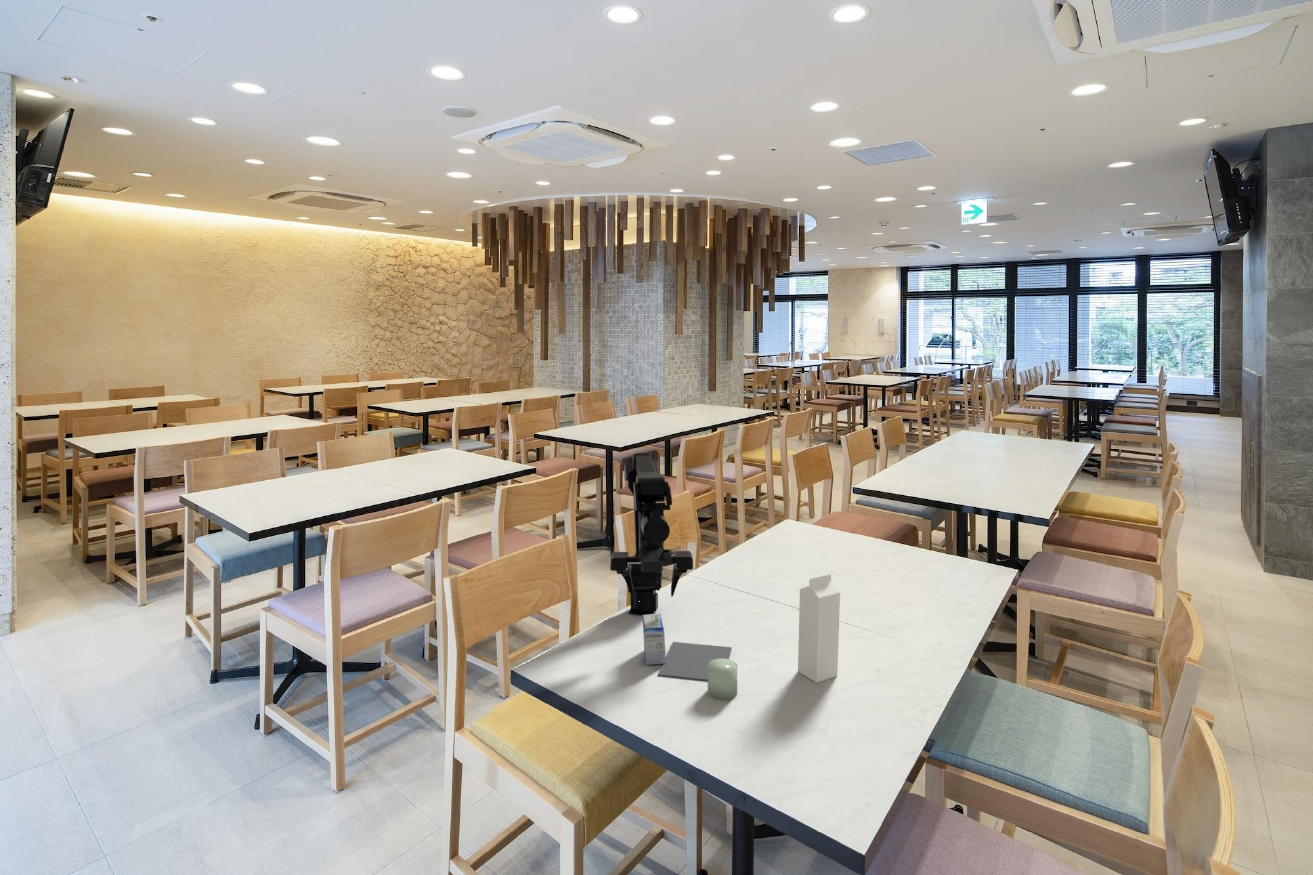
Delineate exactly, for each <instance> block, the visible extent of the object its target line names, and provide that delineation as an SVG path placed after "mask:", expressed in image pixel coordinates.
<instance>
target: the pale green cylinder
mask: <svg viewBox="0 0 1313 875" xmlns="http://www.w3.org/2000/svg"><path fill="white" fill-rule="evenodd" d="M707 694H708V697H710V698H712V699H714V700H716V701H730V700H733V699H735V698H736V697H737V695H738V663H736V662H735V661H734V660H732V659H730V658H729V659H722V658H721V659H714V660H712V661H710V662H709V663H708V681H707Z"/></svg>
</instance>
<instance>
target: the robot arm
mask: <svg viewBox="0 0 1313 875" xmlns="http://www.w3.org/2000/svg"><path fill="white" fill-rule="evenodd" d="M653 455H654V454H653V452H652V453H651V452H645V451H644V452H635V453H632V457H630V458H629V459H628V460H626V461H624V467H623V468H624V469H623V474H624V476H623V478H624V482H626V486H627V489H628V490H629V492H630V494H631V495H632V497H633V499H632V500H633V528H634V554H633V555H632V556H629V551H613V552H612V553H611V557H610V571H612V572H616V574H618V575H621V576H622V578H623V580H624V581H625V584H626V588H627V592H628V593H629V595H630V609H629V611H628V615H635V616H636V615H637V616H643V615H649V614H655V612H656V611H657V610H658V608H659V593H658V591H660V590H661V589H662V583H663V582H662V579H663V571H664V567H668V566H672V574H671V584H670V597H674V595H675V591H676V589H677V585H678V583H679V580H680V578H681V576H682V575H683V574H687V573H688V571H690V570H694V558H693V553H692V552H691V551H690V550H675V551H674V555H672V549H669V548H668V549H665V541H667V539H668V538H669V536H670V531H671V530H670V526H669V524H668V521H667V520H666V517H665V514H664V513H665V511H671V506H672V505H673V499H672V498H673V497H672V490H671V486H670V485H669V482H668V480H667V481H666V480H665V479H666V478H665V476H664V475H663V474H662V473H658V470H659V469H658V461H657V460H656V459H655V458H654V456H653ZM639 601H640V602H639Z"/></svg>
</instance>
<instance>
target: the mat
mask: <svg viewBox="0 0 1313 875" xmlns="http://www.w3.org/2000/svg"><path fill="white" fill-rule="evenodd" d="M731 653H732V647H731V646H720V645H710V644H699V643H690V642H679V641H672V643H671V645H670V647H669V650H668V652H667V653H666V663H664V664H661V667H660V669H659V671H658V673H657V677H658V676H659V677H666V678H667V677H668V678H674V679H675V678H676V679H677V678H678V679H685V680H686V679H687V680H696V681H704V682H705V681H706V682H708V663H709V662H710V661H712V660H714V659H721V658H722V659H729V660H730V656H731Z"/></svg>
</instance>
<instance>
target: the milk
mask: <svg viewBox="0 0 1313 875" xmlns="http://www.w3.org/2000/svg"><path fill="white" fill-rule="evenodd" d="M808 582H809V583H808V585H807V586H804V587H801V588H799V604H798V605H799V609H798V610H799V612H798V646H797V647H798V650H797V651H798V653H797V672H799V673H800V674H801V675H803V676H804V677H806V678H808V679H810V680H811V681H813V682H814V683H815V684H818V683H820V682H824V681H827V680H830V679H832V678H835V677H838V669H839V668H838V666H839V641H840V640H839V638H840V635H839V634H840V633H839V632H840V610H841V609H840V608H841V607H840V604H841V592H840V591H839V589H838V588H837V587H836V585H835V584H834V583H833V581H832V574H830V573H829V574H825V575H820V576H816V577H812V578H809V581H808Z"/></svg>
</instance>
